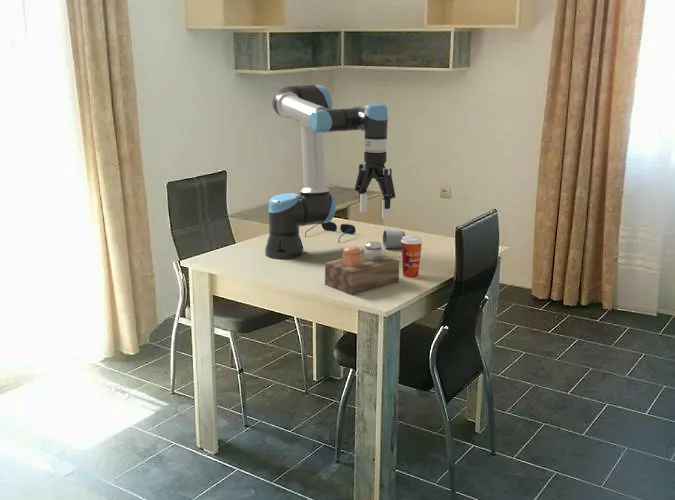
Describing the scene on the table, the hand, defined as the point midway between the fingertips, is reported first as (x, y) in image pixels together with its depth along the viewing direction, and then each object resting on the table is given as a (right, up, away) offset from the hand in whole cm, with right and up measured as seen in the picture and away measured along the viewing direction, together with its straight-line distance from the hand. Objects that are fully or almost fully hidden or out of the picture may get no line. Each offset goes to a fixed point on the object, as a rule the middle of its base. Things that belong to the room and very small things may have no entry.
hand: (374, 214), depth 266 cm
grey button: (0, -17, +5) cm, 18 cm away
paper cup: (+14, -21, +13) cm, 29 cm away
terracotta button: (-8, -19, -1) cm, 21 cm away
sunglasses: (-16, -7, +66) cm, 68 cm away
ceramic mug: (+10, -11, +49) cm, 52 cm away
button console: (-4, -24, +3) cm, 24 cm away
